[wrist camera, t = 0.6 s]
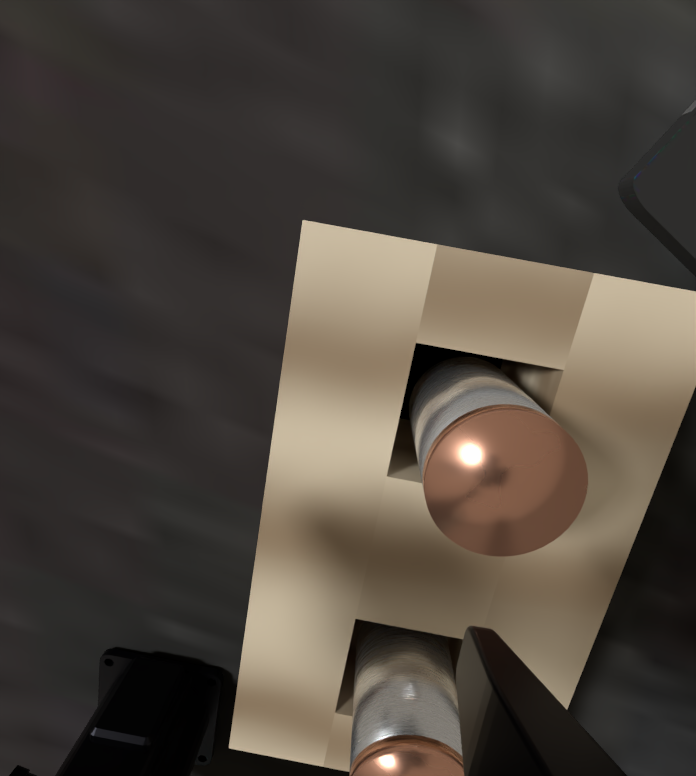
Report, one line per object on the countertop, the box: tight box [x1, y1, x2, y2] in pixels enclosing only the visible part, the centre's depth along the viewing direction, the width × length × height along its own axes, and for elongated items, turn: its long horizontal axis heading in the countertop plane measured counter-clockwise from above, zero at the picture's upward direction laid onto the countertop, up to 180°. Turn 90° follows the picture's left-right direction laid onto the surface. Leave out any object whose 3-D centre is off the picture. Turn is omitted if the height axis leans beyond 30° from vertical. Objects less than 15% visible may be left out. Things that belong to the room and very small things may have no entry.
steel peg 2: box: [409, 357, 588, 557], centre depth 13 cm, size 4×4×6 cm
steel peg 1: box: [349, 620, 464, 776], centre depth 16 cm, size 4×4×6 cm
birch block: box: [229, 220, 696, 772], centre depth 19 cm, size 20×12×6 cm, turn 170°
